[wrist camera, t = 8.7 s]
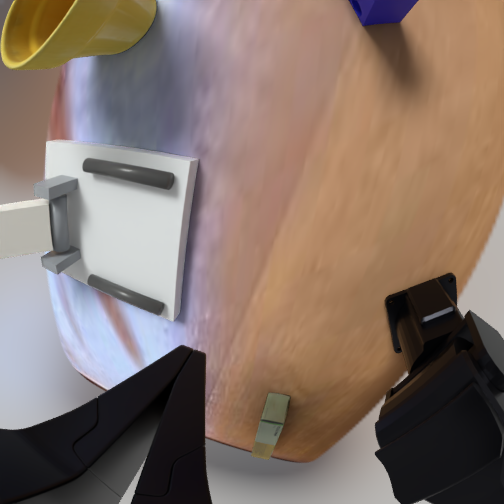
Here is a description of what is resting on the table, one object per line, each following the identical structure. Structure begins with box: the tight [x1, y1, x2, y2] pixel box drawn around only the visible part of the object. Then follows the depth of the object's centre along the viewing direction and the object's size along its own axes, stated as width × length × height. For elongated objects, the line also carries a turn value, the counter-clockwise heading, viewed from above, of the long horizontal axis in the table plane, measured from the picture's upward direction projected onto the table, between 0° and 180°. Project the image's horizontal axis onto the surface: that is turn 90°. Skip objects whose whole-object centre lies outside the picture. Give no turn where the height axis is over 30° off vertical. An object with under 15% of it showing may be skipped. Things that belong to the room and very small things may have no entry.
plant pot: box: [1, 0, 157, 70], centre depth 10 cm, size 10×10×10 cm
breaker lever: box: [0, 194, 70, 259], centre depth 18 cm, size 2×5×9 cm
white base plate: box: [34, 140, 199, 322], centre depth 20 cm, size 16×14×5 cm
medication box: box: [251, 393, 291, 460], centre depth 28 cm, size 12×3×4 cm, turn 175°
